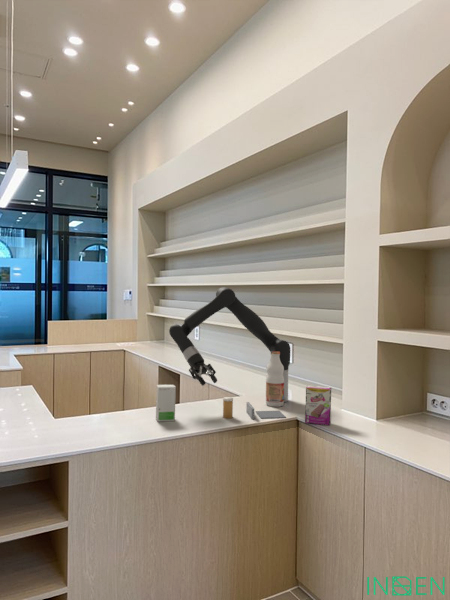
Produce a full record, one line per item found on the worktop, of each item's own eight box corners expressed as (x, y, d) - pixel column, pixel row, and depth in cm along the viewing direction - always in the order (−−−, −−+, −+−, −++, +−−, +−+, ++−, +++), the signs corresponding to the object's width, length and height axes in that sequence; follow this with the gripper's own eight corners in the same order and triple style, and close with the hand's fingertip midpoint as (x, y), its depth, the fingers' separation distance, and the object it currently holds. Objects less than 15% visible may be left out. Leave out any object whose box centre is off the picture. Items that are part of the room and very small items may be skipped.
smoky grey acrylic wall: (246, 412, 218) (246, 402, 218) (248, 412, 218) (248, 401, 218) (251, 419, 205) (251, 408, 205) (254, 419, 206) (254, 408, 205)
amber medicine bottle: (222, 416, 211) (222, 397, 211) (232, 415, 212) (232, 396, 211) (223, 418, 206) (223, 399, 206) (233, 418, 207) (233, 399, 207)
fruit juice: (262, 403, 236) (263, 350, 235) (277, 402, 240) (278, 350, 240) (271, 407, 227) (272, 353, 227) (287, 406, 231) (287, 352, 231)
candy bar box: (304, 423, 200) (305, 387, 199) (305, 420, 204) (306, 385, 204) (330, 426, 197) (331, 388, 196) (331, 422, 201) (331, 386, 201)
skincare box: (157, 422, 199) (157, 387, 199) (155, 418, 206) (155, 384, 206) (175, 420, 202) (176, 386, 202) (173, 417, 208) (173, 383, 208)
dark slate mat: (255, 411, 219) (255, 411, 219) (279, 411, 221) (279, 410, 221) (261, 418, 207) (261, 417, 207) (286, 417, 209) (286, 417, 209)
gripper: (187, 353, 216) (204, 380, 209) (206, 351, 227) (223, 376, 220) (179, 363, 220) (196, 390, 212) (199, 360, 230) (215, 385, 223)
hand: (210, 383), depth 216 cm, fingers open, 8 cm apart
